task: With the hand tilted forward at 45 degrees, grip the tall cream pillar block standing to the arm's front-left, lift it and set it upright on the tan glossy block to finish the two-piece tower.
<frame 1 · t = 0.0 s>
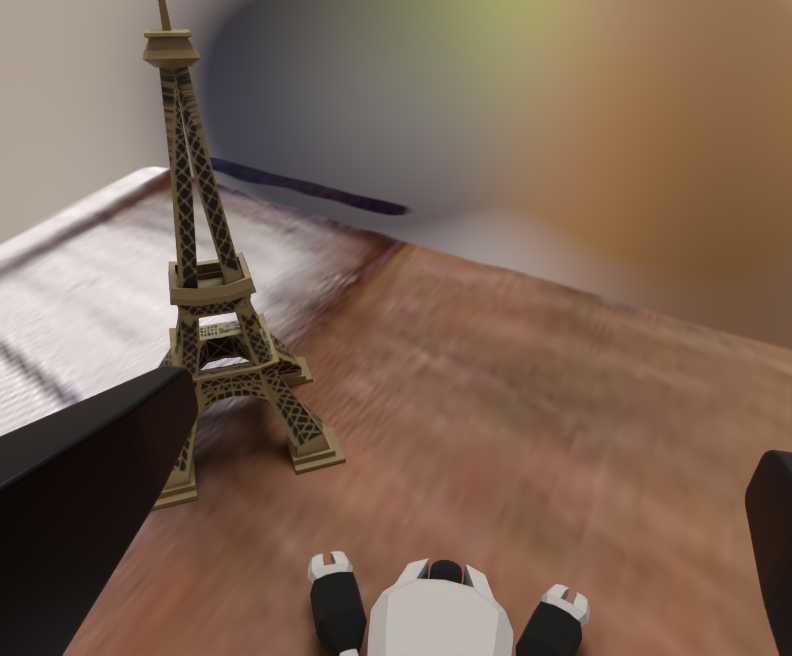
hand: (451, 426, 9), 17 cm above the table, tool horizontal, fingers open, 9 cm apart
eiffel tower: (236, 426, 34), on the table
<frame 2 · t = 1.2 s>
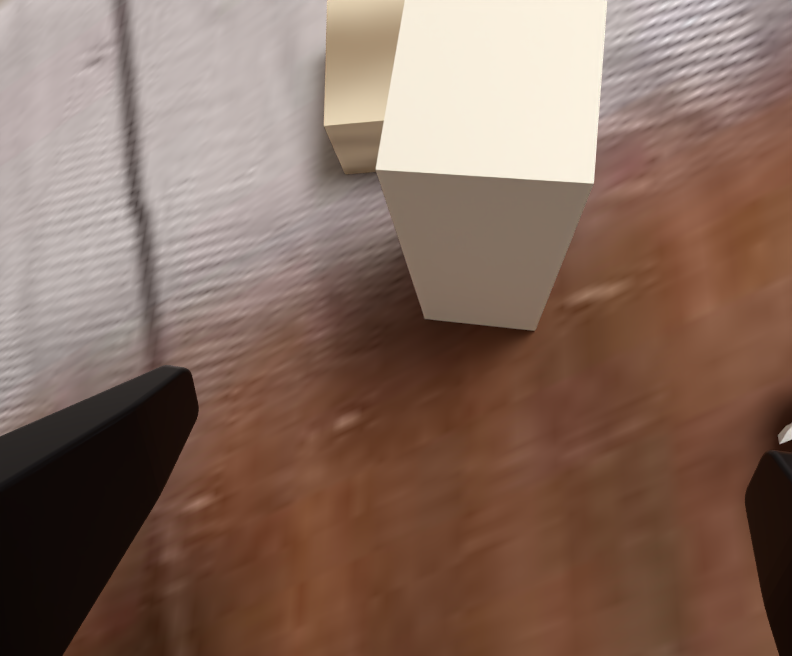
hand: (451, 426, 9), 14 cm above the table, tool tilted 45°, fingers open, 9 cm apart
pillar: (485, 273, 24), on the table
tan glossy block: (420, 104, 27), on the table
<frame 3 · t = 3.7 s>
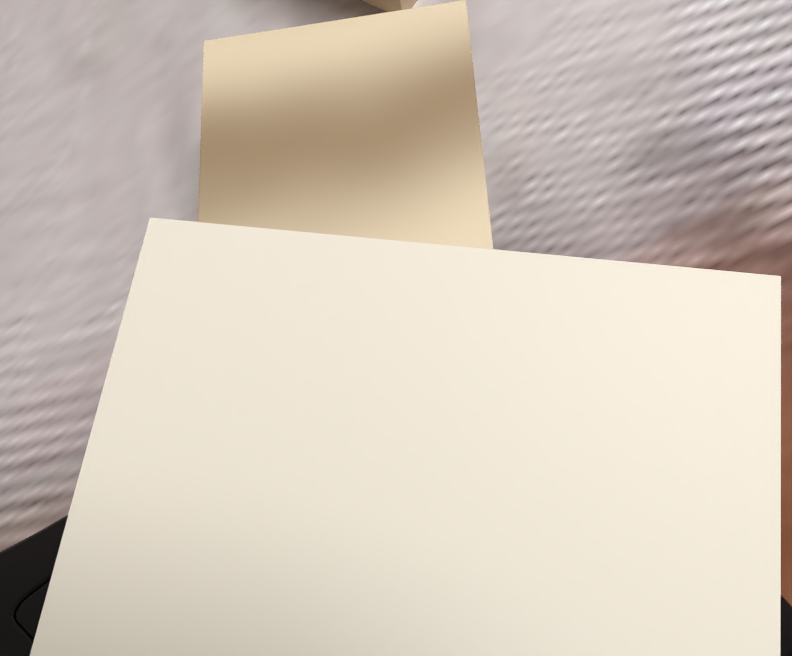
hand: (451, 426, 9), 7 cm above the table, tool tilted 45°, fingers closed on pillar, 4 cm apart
pillar: (455, 499, 15), on the table, touching gripper
tan glossy block: (365, 211, 18), on the table
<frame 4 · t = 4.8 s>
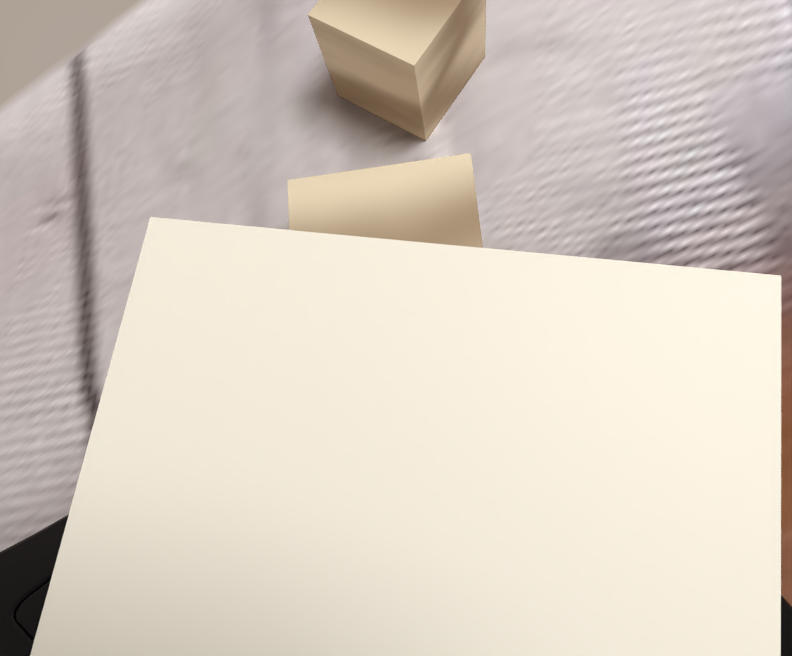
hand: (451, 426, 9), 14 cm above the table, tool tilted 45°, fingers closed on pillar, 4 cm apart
pillar: (455, 499, 15), point 7 cm above the table, touching gripper
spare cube: (410, 77, 27), on the table
tan glossy block: (399, 287, 24), on the table
when the fingers open (11 cm above the table, at t = 6.2 s): pillar drops 1 cm, resting on tan glossy block.
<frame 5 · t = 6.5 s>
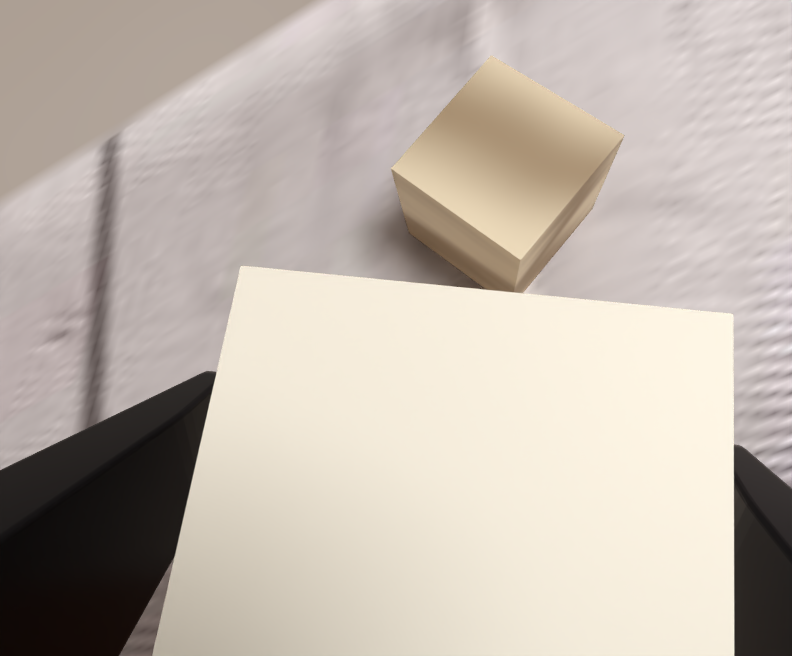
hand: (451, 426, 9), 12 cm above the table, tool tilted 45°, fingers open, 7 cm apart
pillar: (458, 503, 16), point 4 cm above the table, touching tan glossy block
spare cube: (498, 221, 22), on the table
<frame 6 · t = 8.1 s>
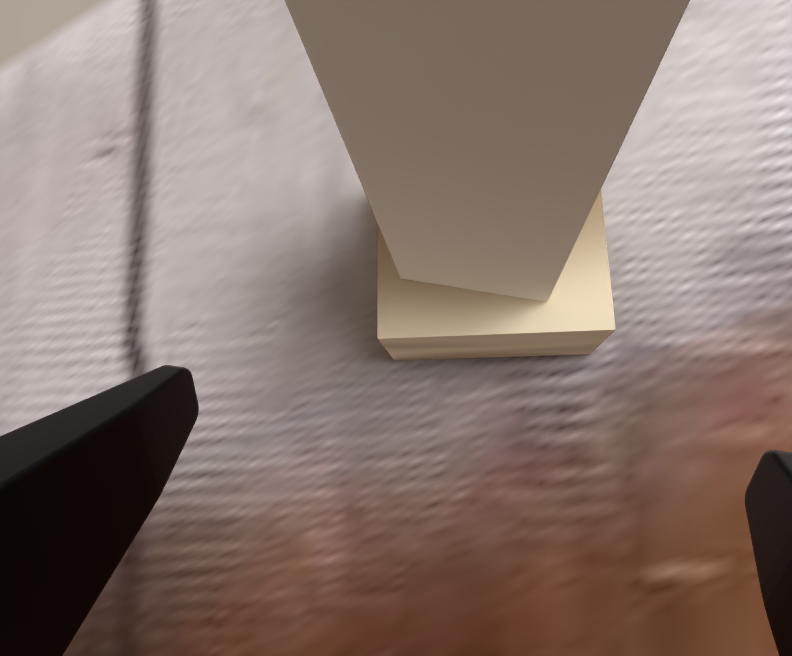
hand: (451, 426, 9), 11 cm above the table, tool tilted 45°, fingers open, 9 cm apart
pillar: (485, 221, 18), point 4 cm above the table, touching tan glossy block
tan glossy block: (485, 268, 22), on the table, touching pillar
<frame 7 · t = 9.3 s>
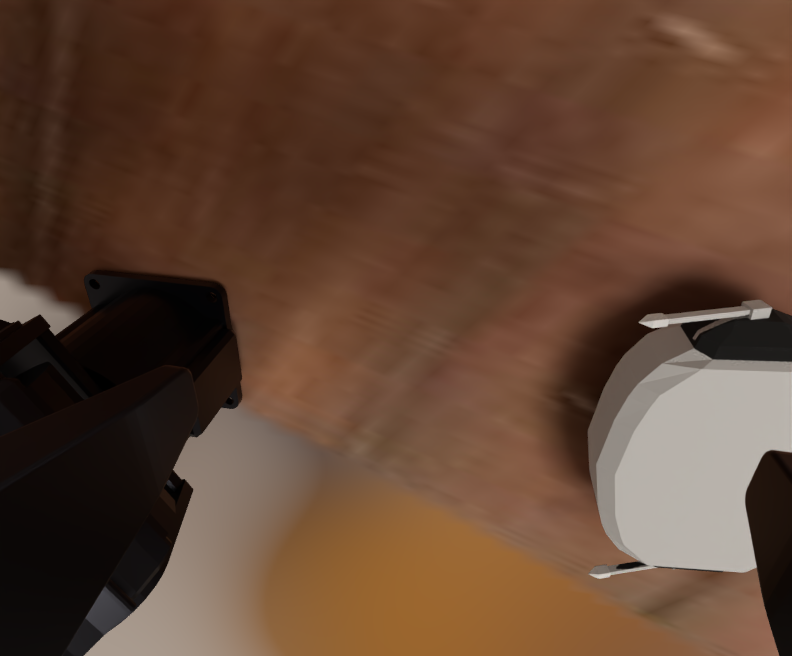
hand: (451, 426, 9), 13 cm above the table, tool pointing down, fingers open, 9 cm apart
robot toy: (778, 410, 23), on the table
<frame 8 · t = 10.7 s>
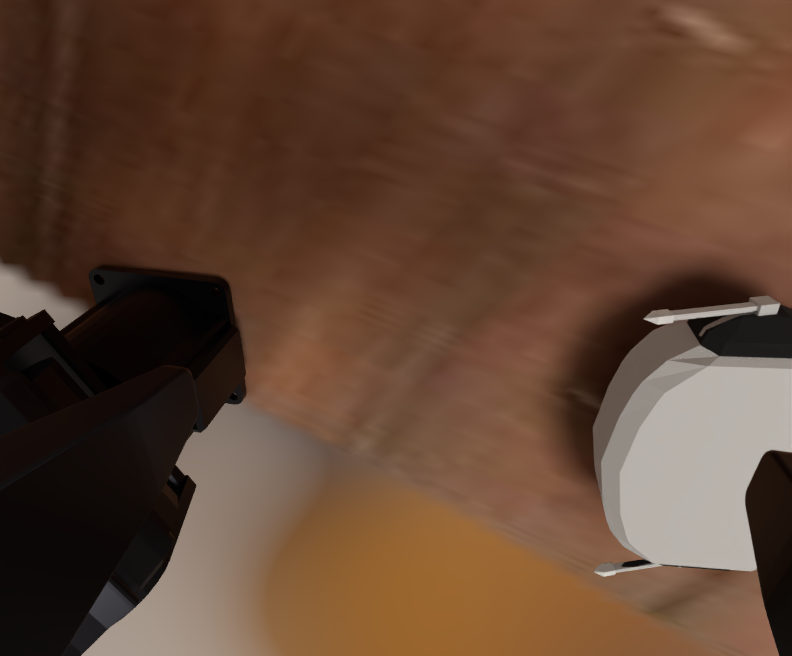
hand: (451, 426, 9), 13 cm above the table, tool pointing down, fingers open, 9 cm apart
robot toy: (786, 407, 22), on the table
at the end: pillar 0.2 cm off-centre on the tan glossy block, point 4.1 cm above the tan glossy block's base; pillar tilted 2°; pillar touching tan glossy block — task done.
